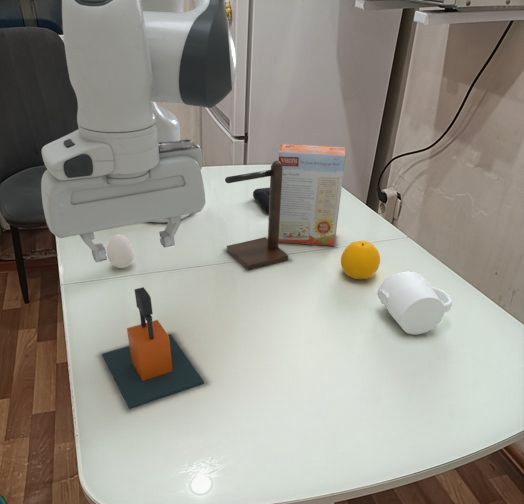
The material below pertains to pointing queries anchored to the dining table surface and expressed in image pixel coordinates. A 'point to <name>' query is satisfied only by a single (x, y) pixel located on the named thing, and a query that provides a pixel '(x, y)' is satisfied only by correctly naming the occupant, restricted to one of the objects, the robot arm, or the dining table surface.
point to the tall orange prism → (149, 341)
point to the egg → (120, 251)
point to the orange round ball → (360, 260)
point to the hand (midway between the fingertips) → (134, 252)
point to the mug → (414, 302)
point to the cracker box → (310, 193)
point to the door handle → (262, 197)
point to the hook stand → (263, 248)
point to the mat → (155, 387)
